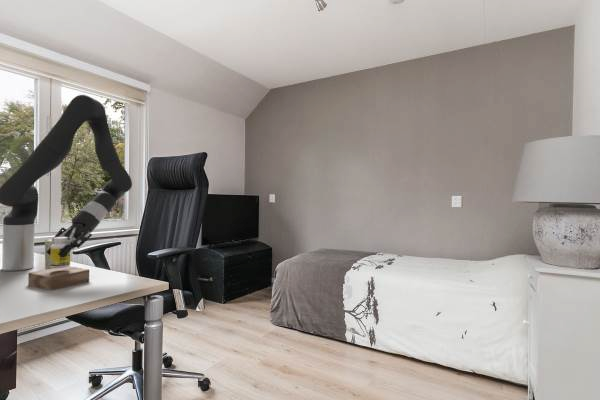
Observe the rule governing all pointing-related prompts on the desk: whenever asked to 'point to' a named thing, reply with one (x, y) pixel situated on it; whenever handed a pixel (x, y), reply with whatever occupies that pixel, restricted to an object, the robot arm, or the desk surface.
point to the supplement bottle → (55, 249)
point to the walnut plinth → (58, 277)
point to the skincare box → (47, 256)
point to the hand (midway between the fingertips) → (54, 254)
